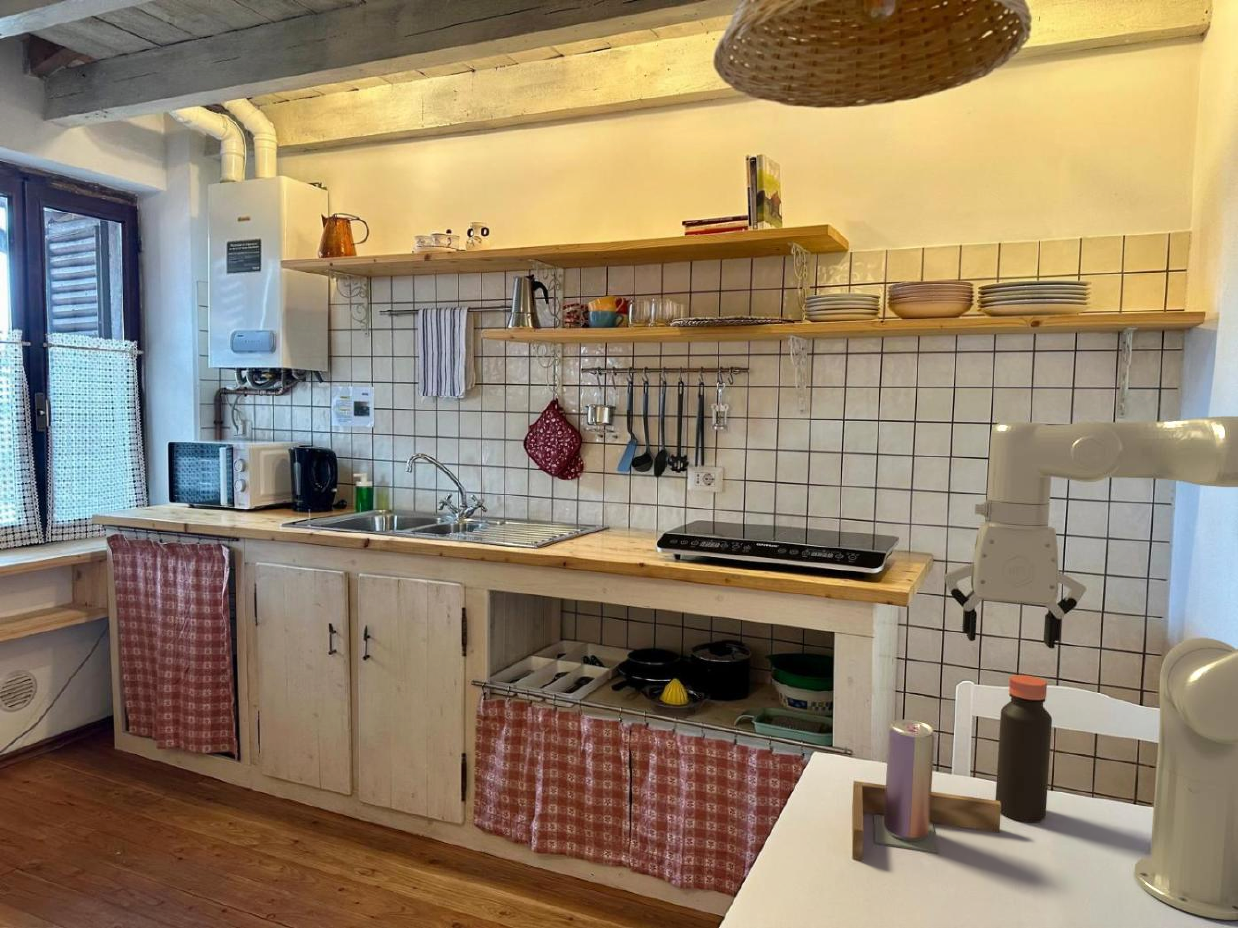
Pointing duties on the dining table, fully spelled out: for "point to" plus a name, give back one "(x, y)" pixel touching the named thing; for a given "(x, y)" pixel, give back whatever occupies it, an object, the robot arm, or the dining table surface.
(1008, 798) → the bottle
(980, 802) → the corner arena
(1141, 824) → the dining table surface
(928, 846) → the pad
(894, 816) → the beverage can
